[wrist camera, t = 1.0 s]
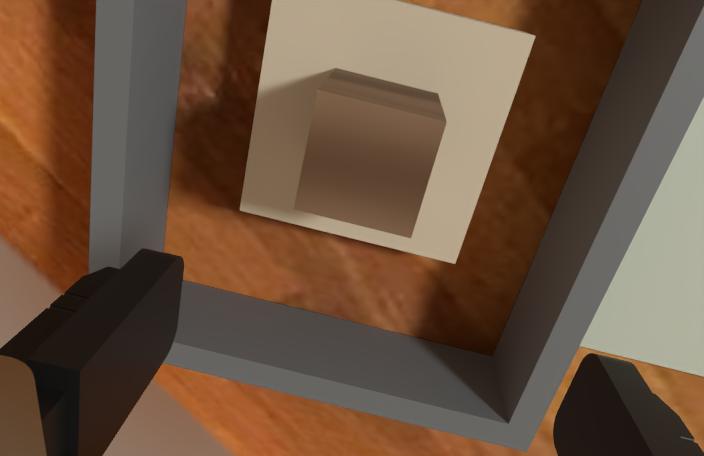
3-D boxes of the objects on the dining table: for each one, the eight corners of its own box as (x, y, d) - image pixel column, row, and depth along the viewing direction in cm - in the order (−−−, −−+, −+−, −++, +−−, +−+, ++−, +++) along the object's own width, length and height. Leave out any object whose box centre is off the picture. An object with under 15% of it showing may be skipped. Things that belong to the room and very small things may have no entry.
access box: (176, -287, 23) (106, -371, 18) (740, -141, 24) (841, -180, 18) (135, 289, 36) (86, 344, 30) (507, 381, 36) (526, 451, 30)
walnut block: (335, 67, 26) (317, 89, 20) (438, 93, 26) (447, 121, 20) (315, 165, 28) (293, 209, 22) (409, 189, 28) (411, 238, 22)
